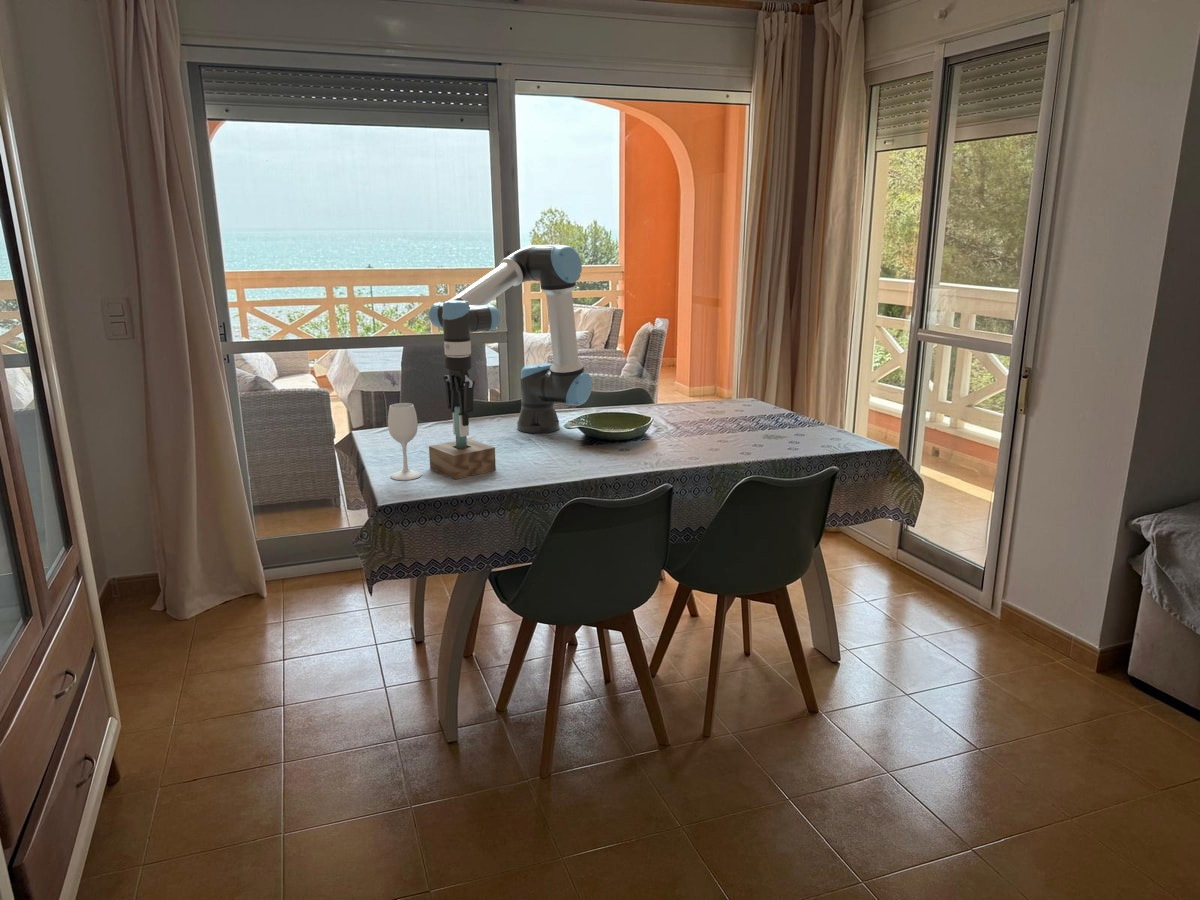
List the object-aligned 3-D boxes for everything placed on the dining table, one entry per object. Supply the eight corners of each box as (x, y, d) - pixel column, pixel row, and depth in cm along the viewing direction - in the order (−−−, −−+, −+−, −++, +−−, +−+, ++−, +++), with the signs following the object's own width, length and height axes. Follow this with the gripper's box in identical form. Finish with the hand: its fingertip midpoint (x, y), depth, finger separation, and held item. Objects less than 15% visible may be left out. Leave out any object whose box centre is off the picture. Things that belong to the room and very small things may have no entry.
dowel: (463, 445, 239) (461, 406, 236) (469, 447, 237) (467, 407, 234) (454, 447, 237) (452, 407, 234) (459, 449, 235) (458, 409, 232)
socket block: (470, 460, 248) (469, 438, 246) (495, 470, 238) (494, 447, 236) (430, 468, 239) (428, 446, 238) (455, 479, 229) (453, 455, 227)
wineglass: (423, 471, 237) (419, 402, 231) (418, 480, 228) (414, 408, 223) (394, 471, 236) (389, 402, 231) (387, 480, 228) (382, 408, 222)
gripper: (432, 353, 233) (436, 431, 239) (461, 360, 222) (464, 442, 228) (454, 351, 238) (457, 428, 244) (484, 357, 226) (486, 437, 233)
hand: (461, 434), depth 236 cm, fingers closed on dowel, 3 cm apart
